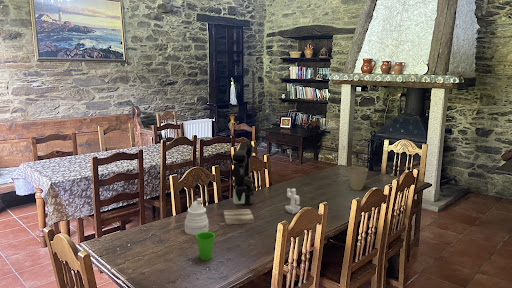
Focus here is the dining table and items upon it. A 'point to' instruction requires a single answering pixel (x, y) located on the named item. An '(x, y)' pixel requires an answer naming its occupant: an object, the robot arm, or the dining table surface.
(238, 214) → the birch base
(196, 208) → the honey pot
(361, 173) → the plant pot
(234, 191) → the sage cube
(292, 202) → the figurine
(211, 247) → the cup
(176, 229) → the dining table surface
